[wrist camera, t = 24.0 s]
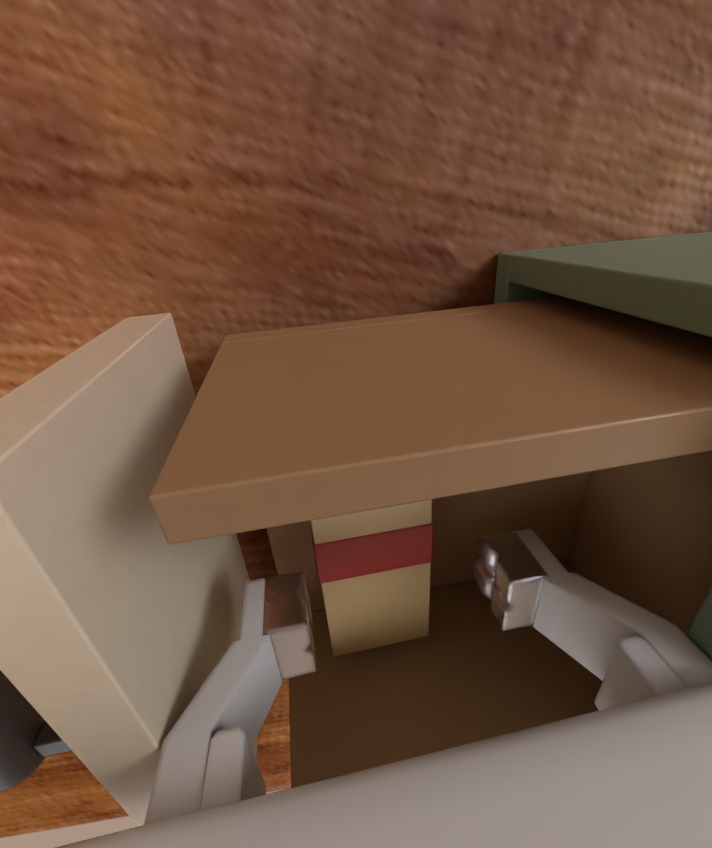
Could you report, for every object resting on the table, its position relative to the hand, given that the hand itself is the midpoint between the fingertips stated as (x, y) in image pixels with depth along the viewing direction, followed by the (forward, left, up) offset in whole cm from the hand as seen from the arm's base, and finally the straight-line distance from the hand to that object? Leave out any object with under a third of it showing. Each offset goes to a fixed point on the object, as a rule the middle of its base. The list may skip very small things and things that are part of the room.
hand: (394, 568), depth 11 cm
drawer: (0, -1, -4) cm, 4 cm away
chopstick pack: (0, 0, -3) cm, 3 cm away
